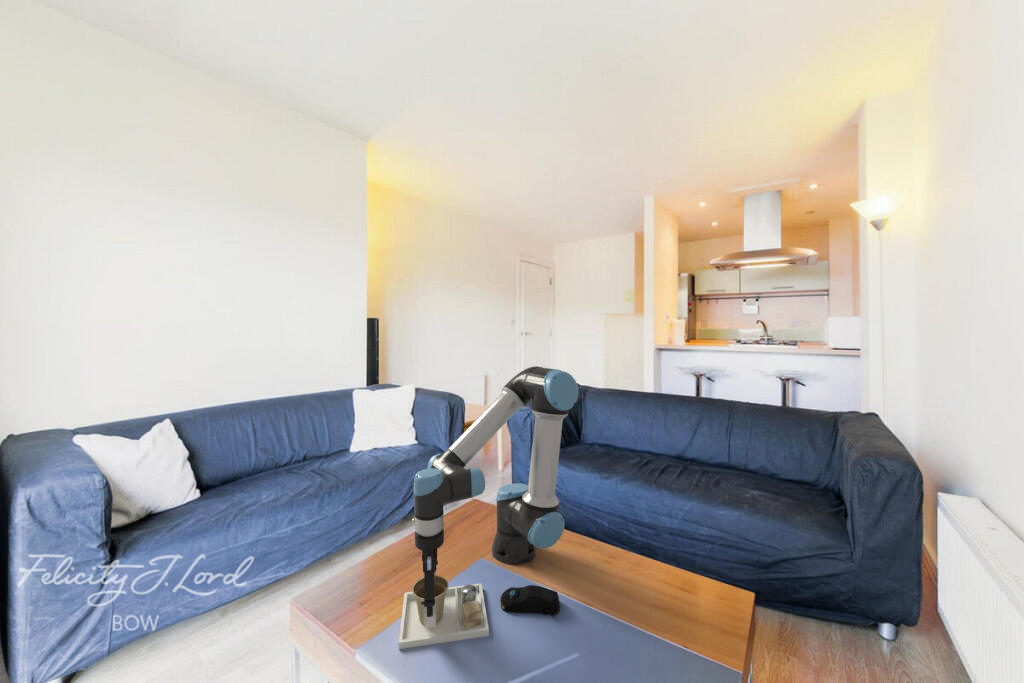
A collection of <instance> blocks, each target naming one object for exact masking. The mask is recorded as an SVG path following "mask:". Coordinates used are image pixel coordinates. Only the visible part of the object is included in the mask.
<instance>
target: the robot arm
mask: <svg viewBox="0 0 1024 683" xmlns="http://www.w3.org/2000/svg"><path fill="white" fill-rule="evenodd" d="M578 397H579V387H578V383H577V381H576V379H575V378H574V377H573V375H572V374H570V373H569V372H567V371H564V370H561V369H555V368H550V367H549V368H547V367H543V366H531V367H527V368H525V369H523V370H522V371H520V372H519V373H517V374H516V375H515V376H514V377H511V378H510V380H509V381H508V382H507V383H505V385H504V386H503V387H502V388H501V394H499V396H498V397H497V398H496V399H495V400H493V401H492V403H491V404H490V405H489V406H488V407H487V408H486V409H485V410H484V411H483V412H482V413H481V414H480V415H479V416H478V417H477V418H476V419H475V420H474V422H473V423H471V425H469V427H468V428H466V430H465V431H464V432H463V433H462V434H461V435H460V436H459V437H458V438H457V439H456V440H455V441H454V442H453V443H452V444H451V446H449V448H447V449H446V450H445V452H443V453H437V454H435V455H433V456H431V457H430V459H429V461H428V463H427V468H425V469H424V468H423V469H421V470H419V471H417V472H416V473H415V476H414V479H413V503H414V504H413V507H414V518H412V520H411V521H412V523H414V530H415V532H414V546H415V547H416V549H417V550H419V551H422V552H421V562H422V572H423V577H424V602H421V605H424V621H425V628H427V627H434V626H436V613H435V577H434V575H437V574H436V572H437V566H438V564H439V562H438V549H439V548H440V547H442V545H443V544H444V542H445V533H444V532H445V530H444V527H445V514H444V509H445V508H444V506H445V505H449V504H453V503H456V502H460V501H464V500H468V499H473V498H474V497H477V496H480V495H482V494H483V493H484V491H485V490H486V478H485V475H484V472H483V470H482V469H480V468H479V467H469V468H468V469H467V468H465V467H466V466H467V465H468V464H469V463H470V461H472V460H473V458H475V456H476V455H478V453H479V452H480V451H481V450H482V449H483V448H484V447H485V445H486V444H487V443H488V442H489V441H490V440H491V439H492V438H493V437H494V436H495V435H496V434H497V432H498V431H500V430H501V429H502V427H503V426H504V425H505V424H506V423H507V422H508V421H509V420H510V419H511V417H513V415H514V414H515V413H516V412H517V411H518V410H521V409H522V410H523V409H525V407H526V406H527V405H528V404H530V403H531V412H532V414H534V416H535V417H534V419H535V420H534V427H533V436H532V447H531V455H530V456H531V457H530V465H529V466H530V467H529V474H528V484H525V483H510V484H509V483H508V484H505V485H502V486H501V487H499V488H498V490H497V491H496V498H495V501H496V532H495V535H494V538H493V542H492V545H491V556H492V557H493V558H494V559H495V560H497V561H498V562H500V563H503V564H505V565H515V566H516V565H521V564H526V563H527V564H528V563H530V562H532V561H533V560H534V559H535V557H536V555H537V549H540V550H542V549H544V550H545V549H546V550H547V549H549V548H551V547H552V546H554V545H555V544H556V543H557V542H558V541H559V540H560V539H561V537H562V535H563V533H564V530H565V524H566V523H565V519H564V517H563V515H562V514H561V513H560V512H559V506H560V500H559V498H558V497H557V496H556V489H557V479H558V468H559V461H560V450H561V449H560V448H561V441H562V439H561V438H562V431H563V430H562V429H563V421H564V419H565V418H566V417H567V416H568V415H569V411H570V409H572V408H573V407H574V406H575V404H576V403H577V401H578Z"/></svg>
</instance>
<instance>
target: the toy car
mask: <svg viewBox="0 0 1024 683" xmlns="http://www.w3.org/2000/svg"><path fill="white" fill-rule="evenodd" d="M560 603H561V602H560V597H559V595H558V591H555V590H553V589H549V588H546V587H543V586H540V585H533V584H528V585H526V586H523V587H509V588H507V589H506V590H504V591H503V592H502V594H501V596H500V608H501V610H502V612H504V613H514V614H515V613H516V614H538V615H543V616H544V615H546V616H547V615H548V616H550V617H552V616H554V615H557V614H558V613H559V612H560V609H561V605H560Z"/></svg>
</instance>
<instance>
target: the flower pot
mask: <svg viewBox="0 0 1024 683" xmlns="http://www.w3.org/2000/svg"><path fill="white" fill-rule="evenodd" d="M434 577H435V613H436V624H437V623H438V622H439V621H440V620H441V619H442V617H443V609H444V600H445V595H446V591H447V589H448V587H449V582H448V580H447V579H446V577H443V576H441V575H437V574H436V575H434ZM411 592H413V595H414V597H415V599H416V603H417V609H418V614H419V620H420V622H421V623H422V624H424V625H425V621H424V605H421V602H424V576H423V577H421V578H420V579H418V580H417V581H416V582H415V583H414V584H413V586H412V589H411Z"/></svg>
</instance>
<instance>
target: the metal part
mask: <svg viewBox="0 0 1024 683" xmlns="http://www.w3.org/2000/svg"><path fill="white" fill-rule="evenodd" d="M463 586H464V585H463ZM475 600H476V587H475V586H473V585H472V584H466V586H464V587H463V588H462V604H465V603H468V602H471V601H475Z"/></svg>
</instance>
